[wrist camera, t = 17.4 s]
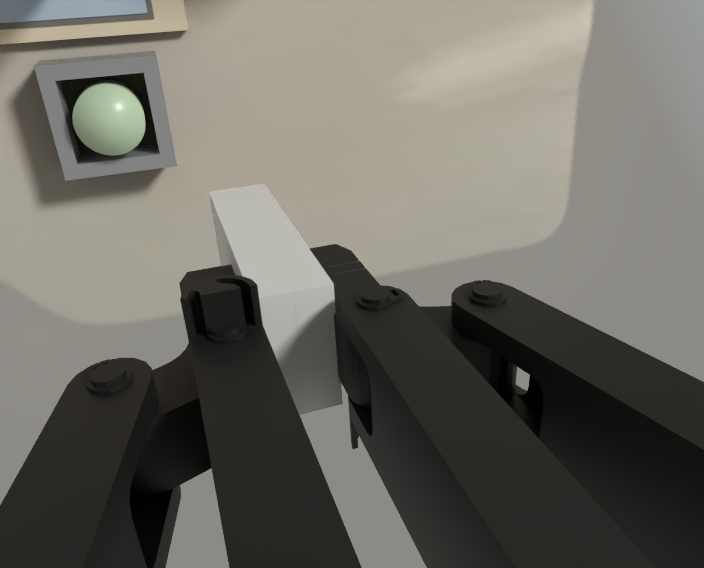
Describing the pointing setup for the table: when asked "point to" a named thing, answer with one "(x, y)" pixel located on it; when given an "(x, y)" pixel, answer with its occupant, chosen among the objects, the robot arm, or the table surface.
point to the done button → (109, 117)
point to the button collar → (63, 128)
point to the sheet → (86, 18)
